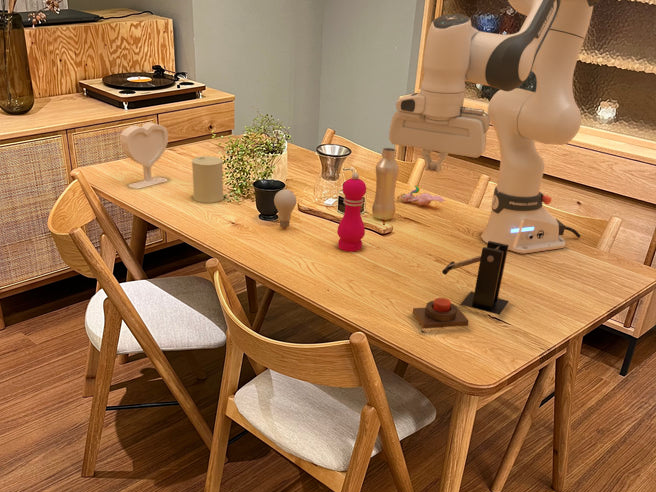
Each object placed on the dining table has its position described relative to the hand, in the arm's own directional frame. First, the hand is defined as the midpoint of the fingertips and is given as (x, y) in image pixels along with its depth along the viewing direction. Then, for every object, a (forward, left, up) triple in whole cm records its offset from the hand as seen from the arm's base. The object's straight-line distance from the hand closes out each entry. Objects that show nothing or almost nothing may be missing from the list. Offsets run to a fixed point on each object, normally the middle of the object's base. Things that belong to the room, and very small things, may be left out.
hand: (433, 171), depth 150 cm
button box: (0, +15, -29) cm, 33 cm away
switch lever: (-10, +7, -19) cm, 23 cm away
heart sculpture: (+61, -86, -29) cm, 109 cm away
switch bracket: (-13, +9, -29) cm, 33 cm away
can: (+43, -70, -29) cm, 87 cm away
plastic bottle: (-6, -48, -29) cm, 56 cm away
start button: (0, +15, -25) cm, 29 cm away
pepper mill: (+9, -28, -29) cm, 41 cm away
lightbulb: (+24, -43, -29) cm, 57 cm away
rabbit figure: (-21, -58, -29) cm, 68 cm away
